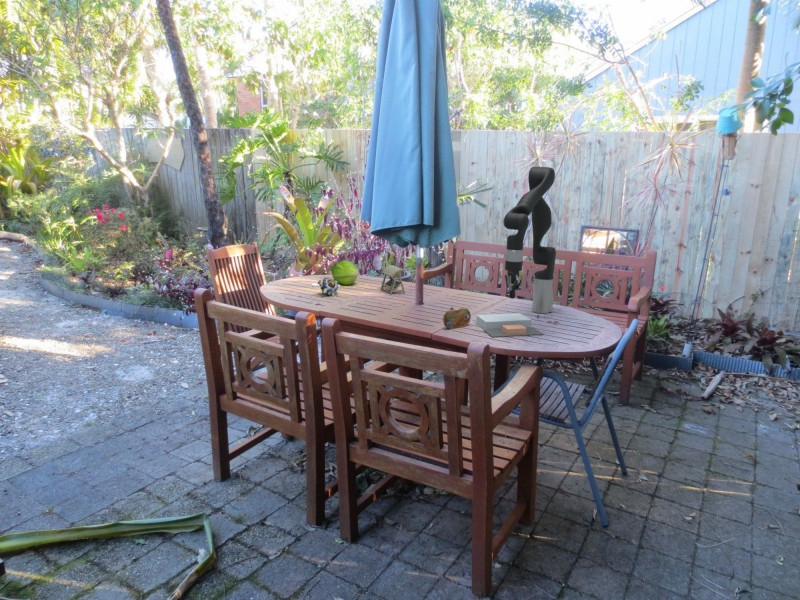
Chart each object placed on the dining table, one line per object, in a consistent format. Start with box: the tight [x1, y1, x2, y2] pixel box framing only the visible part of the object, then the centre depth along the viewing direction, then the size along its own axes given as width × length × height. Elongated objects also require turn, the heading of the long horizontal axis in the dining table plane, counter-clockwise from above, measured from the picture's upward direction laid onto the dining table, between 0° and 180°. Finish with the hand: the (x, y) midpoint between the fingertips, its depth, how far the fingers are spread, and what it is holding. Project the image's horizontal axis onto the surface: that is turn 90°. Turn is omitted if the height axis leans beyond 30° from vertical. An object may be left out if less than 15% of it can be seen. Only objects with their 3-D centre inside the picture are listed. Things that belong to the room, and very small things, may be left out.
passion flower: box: [317, 275, 341, 297], centre depth 306 cm, size 13×12×14 cm
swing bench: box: [380, 264, 407, 296], centre depth 315 cm, size 15×10×15 cm, turn 27°
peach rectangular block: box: [502, 324, 527, 335], centre depth 237 cm, size 9×6×2 cm, turn 102°
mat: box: [483, 327, 545, 339], centre depth 238 cm, size 24×10×1 cm, turn 102°
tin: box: [442, 307, 472, 330], centre depth 245 cm, size 15×3×8 cm, turn 126°
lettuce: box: [331, 260, 360, 286], centre depth 334 cm, size 15×23×16 cm
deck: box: [475, 312, 532, 331], centre depth 249 cm, size 22×12×4 cm, turn 102°
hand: (511, 298), depth 239 cm, fingers closed
